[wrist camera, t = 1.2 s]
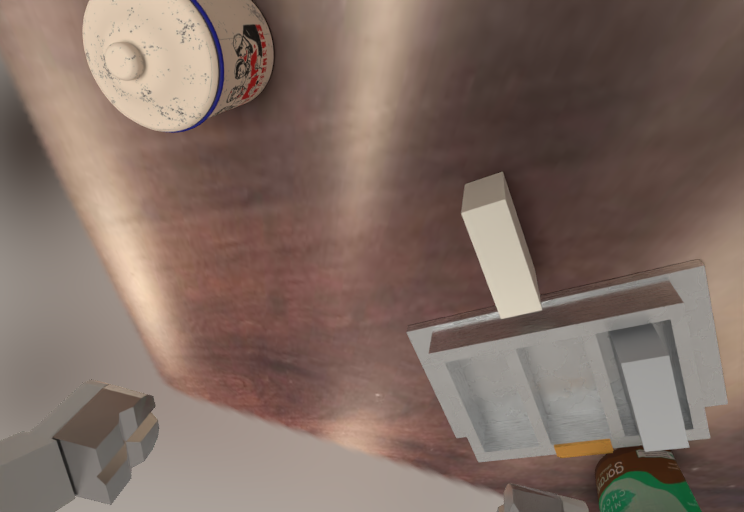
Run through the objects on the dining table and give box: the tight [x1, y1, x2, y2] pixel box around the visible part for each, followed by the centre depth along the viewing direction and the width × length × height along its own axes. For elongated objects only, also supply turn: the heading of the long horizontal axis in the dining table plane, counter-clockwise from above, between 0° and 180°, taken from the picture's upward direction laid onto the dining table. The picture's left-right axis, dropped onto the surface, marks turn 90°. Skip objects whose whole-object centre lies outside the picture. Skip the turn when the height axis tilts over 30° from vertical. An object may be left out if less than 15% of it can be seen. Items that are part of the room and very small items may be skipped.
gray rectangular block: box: [607, 323, 689, 452], centre depth 36 cm, size 3×9×6 cm, turn 24°
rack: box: [407, 259, 728, 462], centre depth 40 cm, size 24×15×5 cm, turn 114°
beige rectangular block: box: [461, 172, 542, 319], centre depth 35 cm, size 3×9×6 cm, turn 24°
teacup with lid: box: [83, 0, 274, 133], centre depth 30 cm, size 12×9×12 cm
